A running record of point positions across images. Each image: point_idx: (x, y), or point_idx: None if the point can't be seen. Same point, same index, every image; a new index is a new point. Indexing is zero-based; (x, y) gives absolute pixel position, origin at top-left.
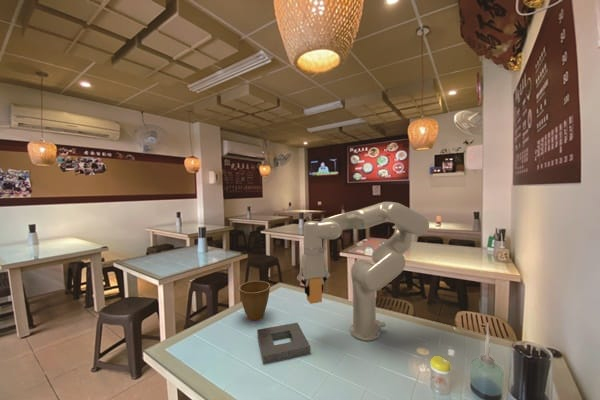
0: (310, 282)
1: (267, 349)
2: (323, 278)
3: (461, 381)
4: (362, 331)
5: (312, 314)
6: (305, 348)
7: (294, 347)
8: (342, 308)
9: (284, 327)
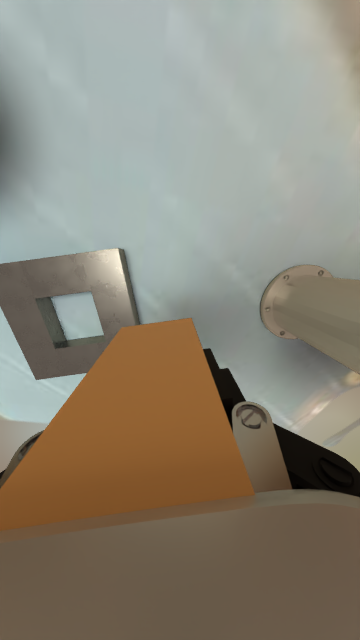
0: None
1: (40, 361)
2: (305, 484)
3: (344, 432)
4: (287, 331)
5: (187, 153)
6: None
7: None
8: (318, 128)
9: (74, 271)
